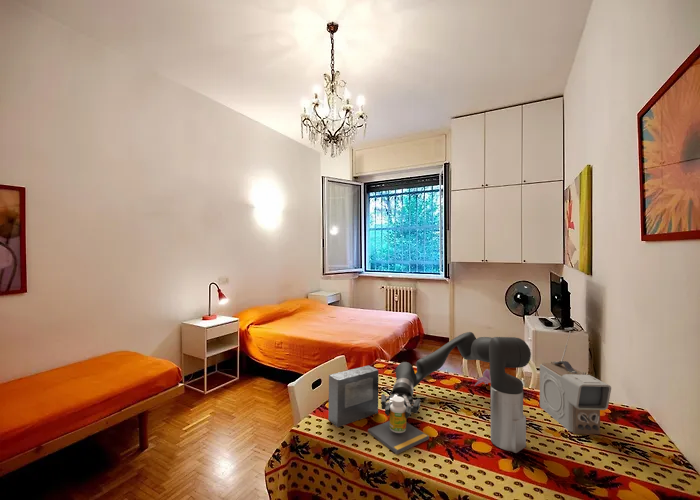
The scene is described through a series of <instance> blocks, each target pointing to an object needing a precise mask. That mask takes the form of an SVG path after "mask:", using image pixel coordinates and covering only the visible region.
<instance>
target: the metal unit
mask: <svg viewBox="0 0 700 500" xmlns="http://www.w3.org/2000/svg"><path fill="white" fill-rule="evenodd" d="M377 414H379V369H377V368H375V367H374V366H371V365H369V364H368V365H363V366H360V367H356V368H352V369H348V370H347V369H346V370H343V371H339V372H335V373H331V374H330V373H329V374H328V417H327V418H328V421H329V422H330V423H331V424H333V425H334V426H335V427H336V428H340V427H343V426H346V425H348V424H351V423H354V422H357V421H359V420H363V419H365V418H369V417H371V416H373V415H377Z"/></svg>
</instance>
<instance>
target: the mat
mask: <svg viewBox="0 0 700 500" xmlns="http://www.w3.org/2000/svg"><path fill="white" fill-rule="evenodd" d="M367 433H368V434H370V436H371V437H373V438H375V439H376V440H378V442H380V443H381V444H382V445H384V446H385V447H386V448H387V449H389V450H390V451H392V453H394V454H396V455H398V454H401V453H402V452H405V451H407V450H409V449H411V448H413V447H415V446H418V445H420V444H422V443H424V442H426V441H428V440H430V436H429V435H428V434H427V433H425V432H423V430H421V429H419V428H417V427H415V426H414V425H412V424H410V423H409V422H407V421H406V431H405V432H403V433H395V432H393V431H391V429H390V420H388V421H386V422H383V423H380V424H378V425H375V426H373V427H370V428H368V429H367Z"/></svg>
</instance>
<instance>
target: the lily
mask: <svg viewBox="0 0 700 500" xmlns="http://www.w3.org/2000/svg"><path fill="white" fill-rule="evenodd" d="M475 380H476V382H475V384H474V387H476V386H478V385H480V384H481V383H484V384H485V385H486V384H487V385H488V384H491V378H490V368H486V369H485V370H484V371H483V373H482V376H480V377H478V378H476V379H475Z"/></svg>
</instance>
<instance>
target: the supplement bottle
mask: <svg viewBox="0 0 700 500" xmlns="http://www.w3.org/2000/svg"><path fill="white" fill-rule="evenodd" d="M405 412H406V406H405V405H404V398H402V397H399V396H395V397H393V398H392V404H391V405H390V414H389V421H390V429H391V431H393V432H395V433H403V432H405V431H406V422H407V419H406V418H405Z"/></svg>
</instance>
